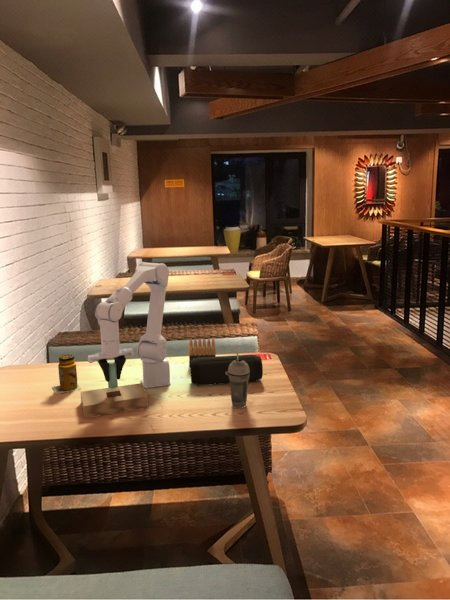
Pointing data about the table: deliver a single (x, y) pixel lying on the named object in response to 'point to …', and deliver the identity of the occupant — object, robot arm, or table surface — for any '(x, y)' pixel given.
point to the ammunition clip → (201, 349)
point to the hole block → (113, 400)
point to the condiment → (67, 375)
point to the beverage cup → (238, 381)
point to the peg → (112, 375)
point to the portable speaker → (222, 369)
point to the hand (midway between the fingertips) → (112, 379)
